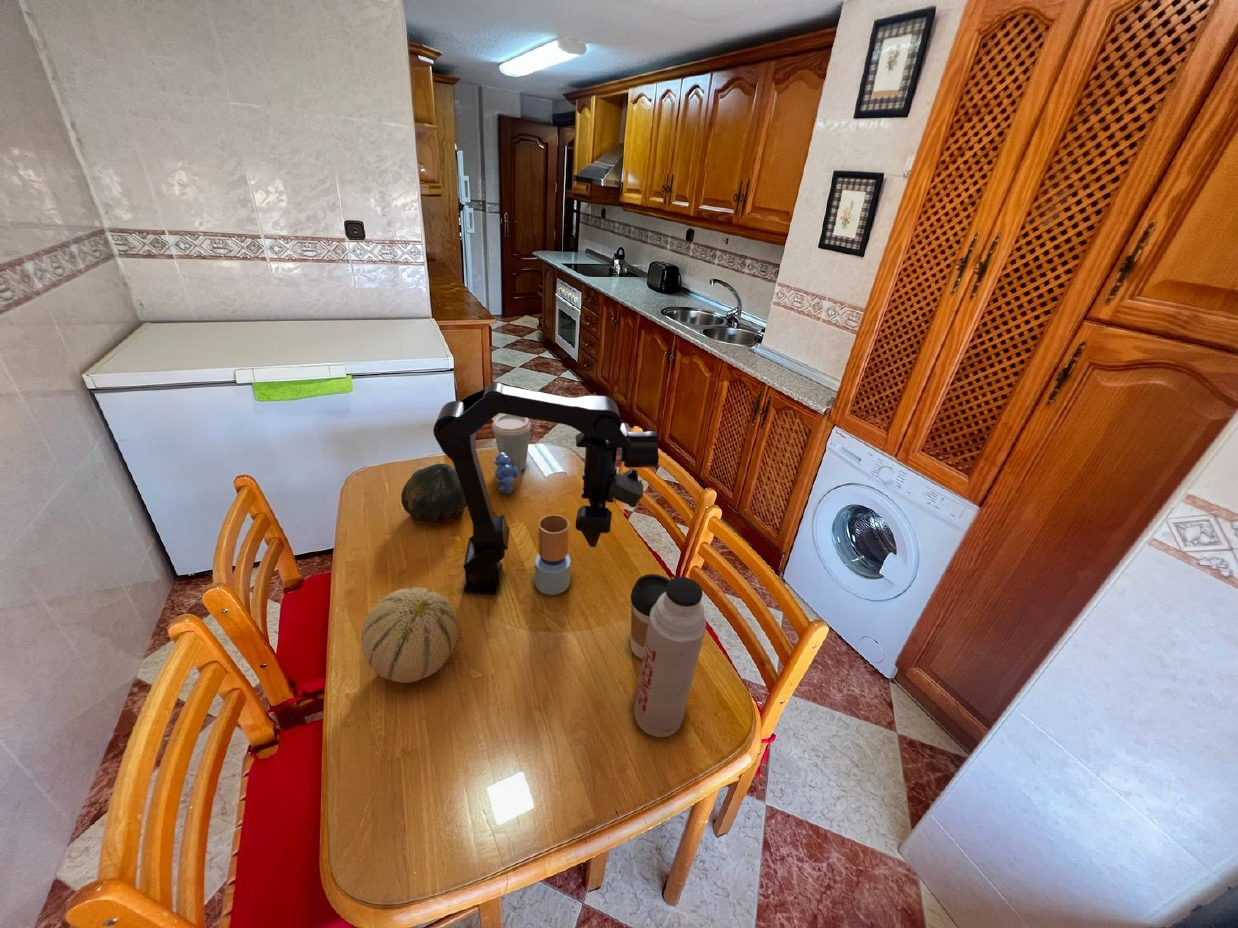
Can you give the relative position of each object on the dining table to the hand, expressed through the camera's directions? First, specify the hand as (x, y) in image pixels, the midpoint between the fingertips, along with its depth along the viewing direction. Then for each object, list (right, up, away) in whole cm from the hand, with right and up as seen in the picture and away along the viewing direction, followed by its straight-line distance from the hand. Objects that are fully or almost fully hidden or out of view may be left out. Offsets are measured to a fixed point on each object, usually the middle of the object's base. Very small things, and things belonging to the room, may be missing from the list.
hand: (594, 531), depth 99 cm
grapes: (-24, +6, +32) cm, 40 cm away
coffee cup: (+10, -21, -7) cm, 24 cm away
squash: (-39, +1, +21) cm, 45 cm away
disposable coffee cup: (-26, +13, +43) cm, 52 cm away
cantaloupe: (-30, -21, -14) cm, 39 cm away
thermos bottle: (+11, -27, -18) cm, 35 cm away
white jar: (-9, -11, +5) cm, 15 cm away
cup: (-8, -4, +1) cm, 9 cm away
